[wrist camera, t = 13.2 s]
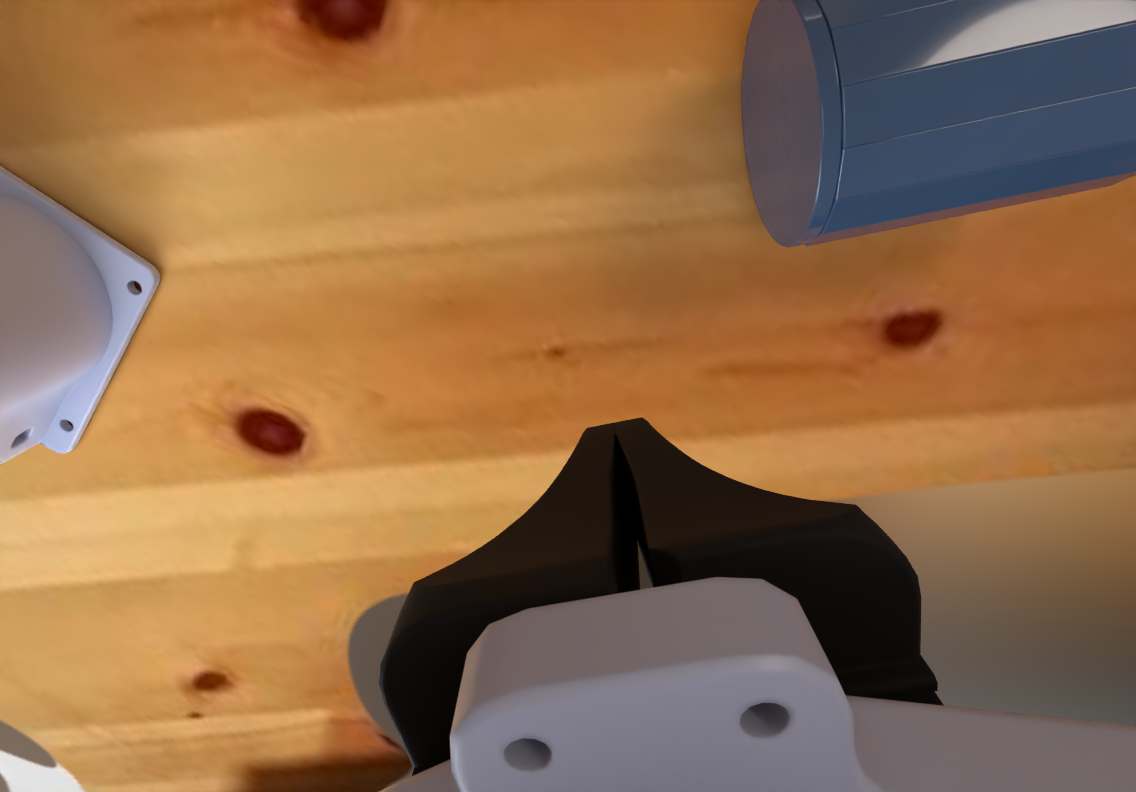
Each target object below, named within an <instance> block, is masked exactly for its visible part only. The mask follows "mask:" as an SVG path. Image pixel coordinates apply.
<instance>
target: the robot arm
mask: <svg viewBox="0 0 1136 792" xmlns="http://www.w3.org/2000/svg"><path fill="white" fill-rule="evenodd" d="M135 281H136V282H138V283H139V284H140V285H141V288H142V292H140V291H138V290H137V289H136V287H135V285H134V283H135ZM159 282H160V274H159V272H158V270H157V269H156V267H154V266H153V265H152V264H151V263H149V262H148V261H146V260H145V259H143V258H142V257H140V256H138V255H137V254H135V253H134V252H132V251H131V250H129V249H128V248H126V247H125V246H123V245H122V244H120V243H118V242H117V241H115V240H114V239H112V238H111V237H109V236H108V235H106V234H105V233H103V232H101V231H100V230H98V229H97V228H95V227H94V226H92V225H91V224H89V223H88V222H86V221H85V220H83V219H81V218H80V217H78V216H77V215H75V214H74V213H72V212H71V211H69V210H68V209H66V208H65V207H63V206H61V205H60V204H58V203H57V202H55V201H54V200H52V199H51V198H49V197H48V196H46V195H44V194H43V193H41V192H40V191H38V190H37V189H35V188H34V187H32V186H31V185H29V184H28V183H26V182H24V181H23V180H21V179H20V178H18V177H17V176H15V175H14V174H12V173H11V172H9V171H8V170H6V169H4V168H3V167H1V166H0V464H2V463H4V462H6V461H8V460H9V459H11V458H13V457H15V456H17V455H19V454H21V453H22V452H24V451H26V450H28V449H30V448H32V447H33V446H35V445H37V444H39V443H40V444H42V445H44V446H46V447H48V448H49V449H51V450H53V451H55V452H58V453H67V452H69V451H71V450H73V449H74V448H75V447H76V446H77V444H78V442H79V440H80V438H81V436H82V434H83V433H84V431H85V429H86V427H87V425H88V423H89V421H90V419H91V417H92V415H93V413H94V411H95V409H96V407H97V405H98V403H99V401H100V399H101V397H102V395H103V393H104V391H105V389H106V387H107V385H108V383H109V381H110V379H111V377H112V375H113V373H114V371H115V369H116V367H117V366H118V364H119V362H120V360H121V358H122V356H123V354H124V352H125V350H126V348H127V346H128V344H129V342H130V340H131V338H132V336H133V334H134V332H135V330H136V328H137V326H138V324H139V322H140V320H141V318H142V316H143V314H144V312H145V310H146V308H147V306H148V304H149V302H150V300H151V299H152V297H153V295H154V293H155V291H156V289H157V287H158V285H159ZM67 420H68V421H70V422H71V423H72V424H73V426H71V425H70V424H69V423H68V421H67ZM637 540H638V543H639V546H640V550H641V553H642V556H643V560H644V563H645V566H646V570H647V573H648V576H649V579H650V583H651V586H652V588H648V589H642V590H640V579H639V561H638V544H637ZM920 637H921V593H920V587H919V581H918V576H917V574H916V573H915V571H914V569H913V568H912V566H911V564H910V562H909V561H908V559H907V557H906V556H905V555H904V554H903V553H902V551H901V550H900V549H899V548H898V547H897V545H896V544H895V543H894V542H893V541H892V540H891V538H890V537H889V536H887V534H886V533H885V532H884V531H883V530H882V529H881V528H880V527H879V526H878V525H877V524H876V523H875V522H874V521H873V520H872V519H871V518H869V517H868V516H867V515H866V514H865V513H864V512H863V511H862V510H861V509H860V508H859V507H858V506H857V505H852V504H844V503H835V502H825V501H816V500H808V499H802V498H797V497H792V496H787V495H782V494H778V493H774V492H770V491H766V490H762V489H759V488H756V487H753V486H750V485H747V484H744V483H741V482H738V481H736V480H733V479H731V478H728V477H726V476H724V475H722V474H719V473H717V472H715V471H713V470H711V469H709V468H707V467H705V466H703V465H701V464H700V463H698V462H696V461H695V460H693V459H692V458H690V457H689V456H687V455H686V454H684V453H683V452H682V451H680V450H679V449H678V448H676V447H675V446H674V445H673V444H671V443H670V442H669V441H668V440H666V439H665V438H664V437H663V436H662V435H661V434H660V433H658V432H657V431H656V430H655V429H654V428H653V427H652V426H651V425H650V423H649V422H648V421H646V420H645V419H644V418H642V417H641V418H636V419H631V420H626V421H621V422H616V423H610V424H605V425H600V426H595V427H590V428H587V429H586V430H585V431H584V433H583V434H582V436H581V438H580V440H579V442H578V444H577V446H576V448H575V449H574V451H573V453H572V455H571V456H570V458H569V459H568V461H567V463H566V464H565V466H564V467H563V469H562V470H561V472H560V473H559V475H558V476H557V478H556V479H555V480H554V482H553V483H552V484H551V486H550V487H549V488H548V490H547V491H546V492H545V493H544V494H543V495H542V496H541V498H540V499H539V500H538V501H537V502H536V503H535V504H534V505H533V506H532V507H531V508H530V509H529V510H528V511H527V512H526V513H525V514H523V515H522V516H521V517H520V518H519V519H518V520H516V521H515V522H514V523H513V524H511V525H510V526H509V527H508V528H506V529H505V530H504V531H503V532H502V533H500V534H499V535H498V536H496V537H495V538H494V539H492V540H491V541H489V542H488V543H486V544H485V545H483V546H482V547H480V548H479V549H477V550H475V551H474V552H472V553H471V554H469V555H467V556H466V557H464V558H462V559H460V560H459V561H457V562H455V563H453V564H451V565H449V566H447V567H445V568H443V569H441V570H439V571H437V572H435V573H433V574H431V575H429V576H427V577H425V578H423V579H420V580H418V581H416V582H414V584H413V586H412V588H411V590H410V592H409V594H408V596H407V598H406V600H405V602H404V605H403V606H402V609H401V612H400V614H399V617H398V619H397V622H396V624H395V627H394V630H393V633H392V635H391V638H390V641H389V643H388V646H387V649H386V651H385V654H384V657H383V660H382V662H381V668H380V680H379V685H380V689H381V692H382V696H383V699H384V703H385V705H386V707H387V709H388V711H389V714H390V716H391V718H392V720H393V723H394V725H395V727H396V729H397V731H398V733H399V735H400V737H401V740H402V742H403V744H404V746H405V748H406V751H407V753H408V755H409V757H410V759H411V761H412V764H413V766H414V771H413V775H412V777H410V778H408V779H406V780H403V781H401V782H399V783H396V784H394V785H392V786H390V787H388V788H385V789H383V790H381V791H379V792H1136V726H1130V725H1121V724H1111V723H1102V722H1092V721H1083V720H1073V719H1064V718H1055V717H1046V716H1036V715H1026V714H1017V713H1008V712H998V711H989V710H979V709H970V708H961V707H951V706H944V705H943V704H942V702H941V701H940V699H939V698H938V696H937V695H936V693H935V692H934V691H937V681H936V678H935V675H934V674H933V672H932V671H931V669H930V668H929V666H928V665H927V664H926V662H925V661H924V659H923V658H922V656H921V655H920V639H921V638H920Z"/></svg>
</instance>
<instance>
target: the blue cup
mask: <svg viewBox="0 0 1136 792" xmlns="http://www.w3.org/2000/svg"><path fill="white" fill-rule="evenodd" d="M742 124H743V137H744V147H745V155H746V162H747V168H748V173H749V178H750V183H751V187H752V191H753V195H754V198H755V202H756V205H757V208H758V211H759V213H760V216H761V218H762V220H763V223H764V225H765V227H766V228H767V230H768V232H769V234H770V235H771V236H772V238H773V239H774V240H775V241H776V242H777V243H778V244H780V245H782V246H785V247H794V246H799V245H806V246H810V245H815V244H820V243H825V242H830V241H835V240H840V239H845V238H850V237H855V236H860V235H865V234H870V233H875V232H880V231H885V230H890V229H895V228H900V227H905V226H910V225H916V224H921V223H926V222H931V221H936V220H941V219H946V218H951V217H956V216H961V215H966V214H971V213H976V212H981V211H986V210H991V209H996V208H1001V207H1006V206H1011V205H1016V204H1021V203H1026V202H1031V201H1036V200H1041V199H1046V198H1051V197H1056V196H1061V195H1066V194H1071V193H1076V192H1081V191H1086V190H1091V189H1097V188H1102V187H1107V186H1111V185H1113V184H1116V183H1118V182H1121V181H1123V180H1125V179H1128V178H1130V177H1132V176H1135V175H1136V0H760V1H759V3H758V5H757V7H756V9H755V12H754V14H753V17H752V20H751V24H750V28H749V32H748V36H747V41H746V47H745V54H744V62H743V75H742Z"/></svg>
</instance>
